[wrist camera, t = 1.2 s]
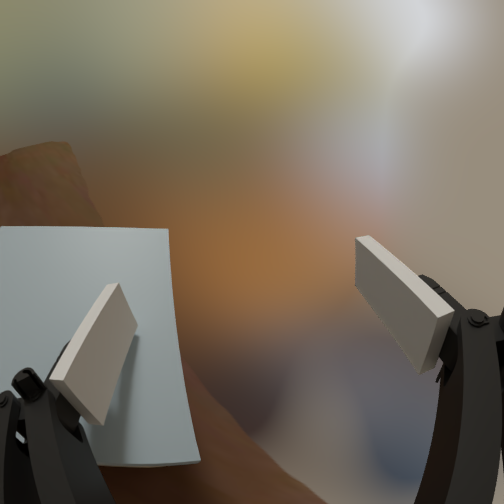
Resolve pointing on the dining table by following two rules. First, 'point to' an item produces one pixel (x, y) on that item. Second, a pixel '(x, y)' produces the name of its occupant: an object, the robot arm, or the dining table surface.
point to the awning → (73, 313)
